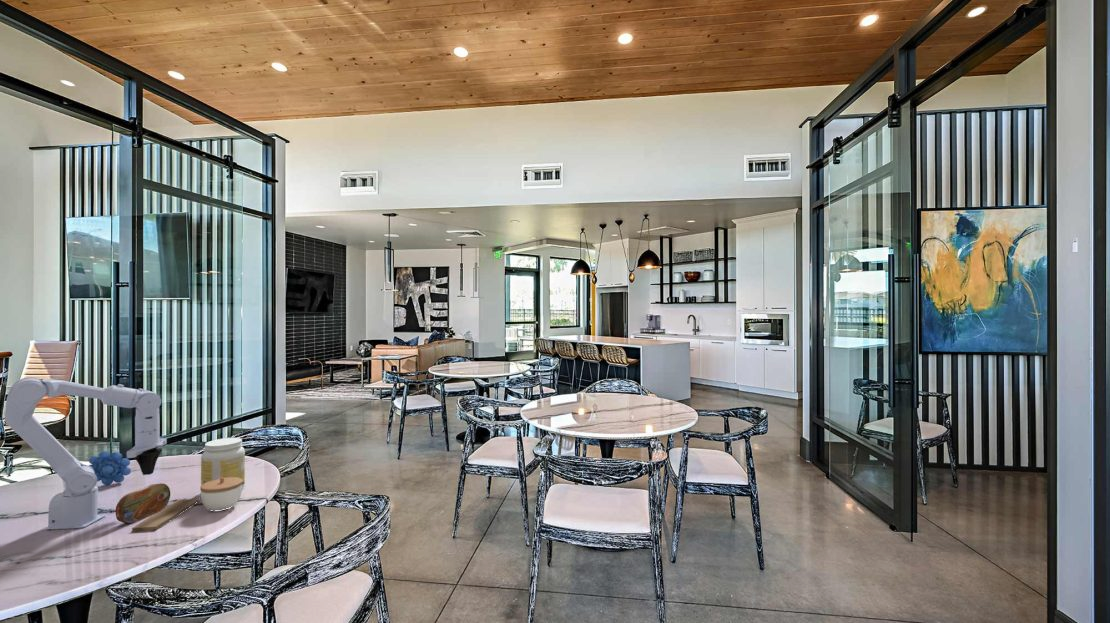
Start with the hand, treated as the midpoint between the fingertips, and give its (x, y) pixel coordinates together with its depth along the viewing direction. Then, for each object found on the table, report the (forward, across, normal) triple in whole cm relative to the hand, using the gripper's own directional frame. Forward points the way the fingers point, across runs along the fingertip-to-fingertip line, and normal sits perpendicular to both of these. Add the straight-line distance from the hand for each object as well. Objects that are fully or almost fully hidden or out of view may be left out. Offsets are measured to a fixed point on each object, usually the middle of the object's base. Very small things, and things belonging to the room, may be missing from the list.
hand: (147, 474), depth 145 cm
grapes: (+10, +22, +27) cm, 36 cm away
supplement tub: (+11, +12, -15) cm, 22 cm away
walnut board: (+10, -8, -10) cm, 16 cm away
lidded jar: (+11, -4, -22) cm, 25 cm away
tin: (+11, -7, -3) cm, 13 cm away
